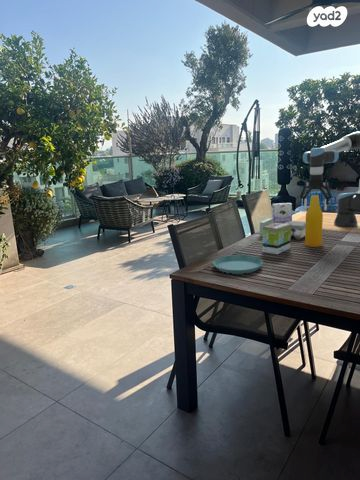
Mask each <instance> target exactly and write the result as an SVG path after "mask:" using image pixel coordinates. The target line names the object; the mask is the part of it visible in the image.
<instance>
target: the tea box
mask: <svg viewBox="0 0 360 480" xmlns="http://www.w3.org/2000/svg"><path fill="white" fill-rule="evenodd" d="M291 239H292V237H291V224H284V223H274V224H271V225H268V226H264V227H263V236H262V253H266V254H267V253H268V254H272V255H279V254H281V253H283V252H285V251H288V250H290V249H291Z"/></svg>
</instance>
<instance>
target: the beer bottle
mask: <svg viewBox="0 0 360 480" xmlns="http://www.w3.org/2000/svg"><path fill="white" fill-rule="evenodd" d="M309 200H310V201H309V206H308V208H307V209H306V210H307V211H306V213H305V222H306V228H305V236H304V239H305V240H304V245H305V246H307V247H310V248H318V247H322V244H323V218H324V215H323V211H322V208H321V205H320V196H319V195H316V194H315V195H310V199H309Z"/></svg>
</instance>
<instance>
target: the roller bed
mask: <svg viewBox="0 0 360 480" xmlns="http://www.w3.org/2000/svg"><path fill="white" fill-rule="evenodd" d="M305 228H306V227H305ZM305 228H304V229H302V230H299V229H291V238H292V237H293V238H294V239H296V240H301V239H303V238H305Z"/></svg>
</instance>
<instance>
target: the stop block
mask: <svg viewBox="0 0 360 480" xmlns="http://www.w3.org/2000/svg"><path fill="white" fill-rule="evenodd" d="M271 224H273V218H272V217H270V218H269V217H268V218H266V219H264V220H262V221H260V222H259V237H263V227H264V226H268V225H271Z"/></svg>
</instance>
